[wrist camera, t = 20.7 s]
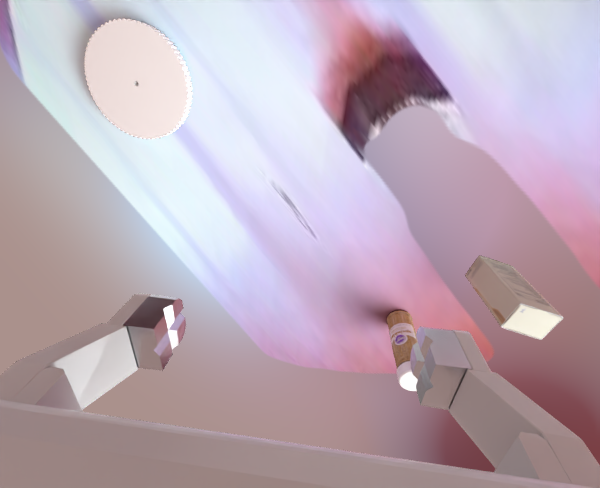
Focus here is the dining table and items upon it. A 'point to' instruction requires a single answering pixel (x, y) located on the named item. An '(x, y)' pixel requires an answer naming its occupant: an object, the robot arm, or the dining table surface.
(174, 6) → the dining table surface
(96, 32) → the plastic lid
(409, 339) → the sprinkles bottle
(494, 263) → the skincare box
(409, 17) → the dining table surface
